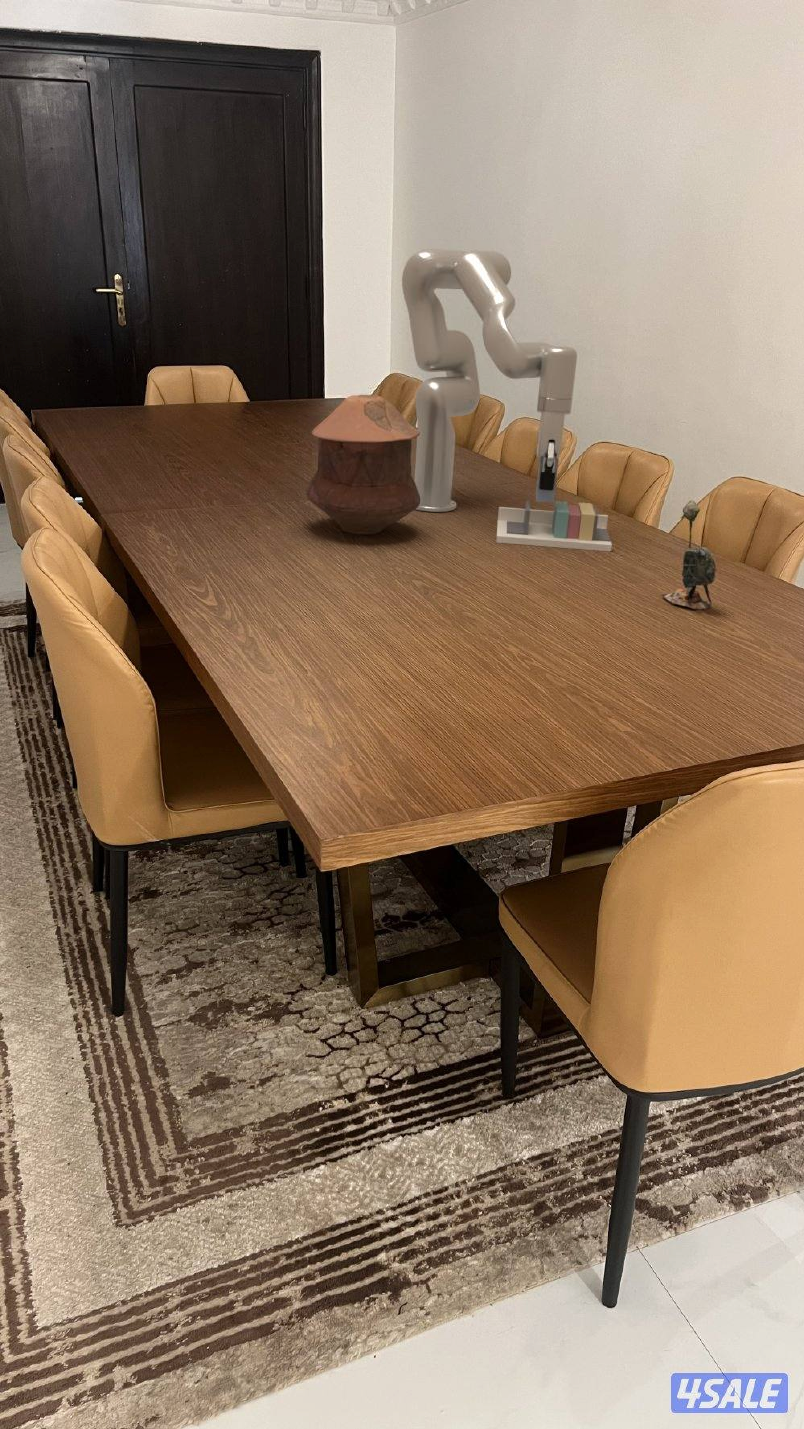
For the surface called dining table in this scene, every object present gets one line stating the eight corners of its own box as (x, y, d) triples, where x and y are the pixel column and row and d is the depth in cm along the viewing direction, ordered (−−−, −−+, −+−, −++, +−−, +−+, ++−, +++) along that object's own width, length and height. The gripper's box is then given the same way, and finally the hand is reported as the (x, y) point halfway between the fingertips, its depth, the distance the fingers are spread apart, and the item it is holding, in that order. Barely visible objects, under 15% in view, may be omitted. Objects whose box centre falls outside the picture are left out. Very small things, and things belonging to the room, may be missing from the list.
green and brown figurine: (683, 615, 192) (702, 510, 183) (657, 596, 201) (674, 495, 193) (722, 614, 193) (743, 510, 185) (694, 595, 203) (712, 495, 195)
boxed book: (536, 501, 232) (540, 457, 228) (535, 495, 237) (540, 452, 233) (553, 502, 231) (558, 458, 227) (552, 497, 237) (557, 453, 233)
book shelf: (496, 542, 232) (499, 509, 228) (497, 525, 246) (500, 494, 243) (611, 551, 230) (615, 518, 227) (605, 533, 244) (609, 502, 241)
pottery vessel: (435, 527, 240) (444, 396, 228) (388, 552, 219) (396, 409, 207) (339, 511, 250) (342, 384, 237) (285, 533, 229) (286, 395, 216)
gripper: (536, 399, 234) (528, 478, 241) (538, 409, 218) (529, 493, 225) (569, 401, 233) (560, 480, 241) (573, 411, 217) (563, 495, 225)
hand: (545, 485), depth 233 cm, fingers closed on boxed book, 6 cm apart
